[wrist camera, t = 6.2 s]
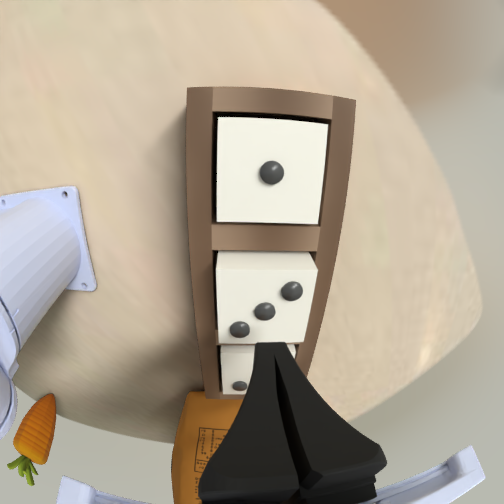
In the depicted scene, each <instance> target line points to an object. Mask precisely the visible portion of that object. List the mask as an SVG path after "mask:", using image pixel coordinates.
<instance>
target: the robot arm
mask: <svg viewBox="0 0 504 504" xmlns="http://www.w3.org/2000/svg"><path fill="white" fill-rule="evenodd" d="M65 191H66V192H67V194H68V196H67V197H66V196H65ZM84 283H85V284H86V285H87V286H86V285H85V284H84ZM96 287H97V283H96V279H95V276H94V272H93V268H92V263H91V259H90V255H89V250H88V246H87V241H86V236H85V230H84V225H83V219H82V213H81V207H80V200H79V192H78V189H77V188H76V187H75V186H65V187H56V188H49V189H41V190H34V191H27V192H21V193H15V194H9V195H3V196H0V440H1V439H2V438H3V437H4V436H5V435H6V434H7V432H8V431H9V430H10V428H11V426H12V424H13V422H14V419H15V416H16V412H17V393H16V389H15V385H14V383H13V380H12V378H13V376H14V374H15V372H16V371H17V369H18V367H19V365H18V363H17V359H16V358H17V355H18V353H19V352H20V350H21V349H22V347H23V346H24V344H25V343H26V341H27V340H28V338H29V337H30V335H31V334H32V332H33V331H34V329H35V328H36V326H37V325H38V324H39V322H40V321H41V319H42V318H43V317H44V315H45V314H46V313H47V311H48V310H49V309H50V307H51V306H52V305H53V303H54V302H55V301H56V299H57V298H58V297H59V296H60V294H61V293H62V292H63V290H64V289H70V290H81V291H94V290H95V289H96ZM386 464H387V460H386V457H385V455H384V453H383V451H382V449H381V447H380V445H379V444H377V443H375V442H374V441H372V440H370V439H369V438H367V437H366V436H364V435H363V434H361V433H360V432H359V431H357V430H356V429H355V428H353V427H352V426H351V425H350V424H348V423H347V422H346V421H345V420H344V419H343V418H341V417H340V416H339V415H338V414H337V413H336V412H335V411H334V410H333V409H332V408H331V407H330V406H329V405H328V404H327V403H326V402H325V401H324V400H323V398H322V397H321V396H320V395H319V394H318V393H317V391H316V390H315V389H314V387H313V386H312V385H311V383H310V382H309V381H308V379H307V378H306V376H305V375H304V373H303V372H302V370H301V369H300V367H299V366H298V364H297V362H296V361H295V359H294V357H293V356H292V354H291V352H290V350H289V348H288V346H287V344H286V343H285V342H257V343H256V344H255V349H254V360H253V370H252V375H251V379H250V382H249V385H248V388H247V391H246V394H245V397H244V399H243V402H242V404H241V406H240V409H239V411H238V413H237V415H236V417H235V419H234V421H233V423H232V425H231V427H230V429H229V430H228V432H227V434H226V435H225V437H224V439H223V440H222V442H221V444H220V445H219V447H218V448H217V450H216V451H215V452H214V454H213V455H212V457H211V458H210V459H209V461H208V462H207V465H206V467H205V469H204V471H203V473H202V475H201V477H200V480H199V484H198V497H199V498H200V500H201V501H202V504H374V503H375V504H449V503H450V502H452V501H454V500H455V499H457V498H458V497H459V496H461V495H463V494H464V493H465V492H467V491H468V490H470V489H471V488H473V487H474V486H475V485H477V484H478V483H480V482H481V481H483V480H484V479H485V475H484V472H483V470H482V468H481V465H480V463H479V461H478V458H477V456H476V454H475V452H474V449H473V447H472V445H469V446H468V447H466V448H464V449H462V450H461V451H459V452H457V453H456V454H454V455H453V456H451V457H450V458H449V459H447V461H445V462H443V463H441V464H439V465H437V466H435V467H433V468H431V469H428V470H426V471H424V472H422V473H420V474H417V475H415V476H412V477H410V478H408V479H405V480H403V481H400V482H398V483H395V484H392V485H389V486H386V487H383V488H380V489H377V490H375V486H374V483H375V482H376V478H375V474H377V473H378V472H379V471H380V470H382V469H383V468H384V467H385V466H386ZM56 504H150V503H145V502H140V501H136V500H131V499H127V498H123V497H119V496H115V495H111V494H108V493H104V492H102V491H98V490H96V489H95V488H93V487H92V486H90V485H88V484H85V483H83V482H80V481H77V480H75V479H72V478H69V477H67V476H62V480H61V484H60V488H59V492H58V496H57V501H56Z"/></svg>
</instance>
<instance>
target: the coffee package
mask: <svg viewBox="0 0 504 504" xmlns="http://www.w3.org/2000/svg"><path fill="white" fill-rule="evenodd" d="M242 402H243V399H206V396H205V391H199V392H194V391H191V392H189V394H188V395H187V397H186V400H185V404H184V407H183V410H182V414H181V417H180V421H179V424H178V428H177V432H176V437H175V443H174V448H173V452H172V464H171V477H172V489H173V498H174V504H202V501H201V500H200V498H199V497H198V484H199V480H200V477H201V475H202V473H203V471H204V469H205V467H206V465H207V462H208V461H209V459H210V458H211V457H212V455H213V454H214V452H215V451H216V450H217V448H218V447H219V445H220V444H221V442H222V440H223V439H224V437H225V435H226V434H227V432H228V430H229V429H230V427H231V425H232V423H233V421H234V419H235V417H236V415H237V413H238V411H239V409H240V406H241V404H242Z"/></svg>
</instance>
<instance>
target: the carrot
mask: <svg viewBox="0 0 504 504" xmlns="http://www.w3.org/2000/svg"><path fill="white" fill-rule="evenodd" d="M55 422H56V405H55V398H54V395H53V394H48V395H46V396H44V397H43V398H41V399H40V400H38V401H37V402H36V403H35V404H34V405H33V406H32V407H31V409H30V410H29V411H28V413H27V414H26V415H25V417H24V418H23V420H22V422H21V424H20V426H19V428H18V431H17V433H16V435H15V437H14V441H13V444H14V447H15V449H16V450H17V451H18V452H19V453H20V454H21V455H22V456H20V457H19V458H18V459H16V460H15V461H13V462H12V463H9V464H7V466H8V468H9V469H14V468H16V467H17V466H18V472H19V475H20V476H22V477H24V474H25V475H26V479H27V482H28V484H29V485H31V486H33V485H34V480H33V476H32V473H31V470H32V472H33V473H34V474H35V475H38V473H37V471H36V469H35V468H34V466H33V464H32V462H34V463H37V464H41V465H42V464H45V463H46V462H47V459H48V456H49V452H50V448H51V445H52V441H53V437H54V430H55ZM31 461H32V462H31Z"/></svg>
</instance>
